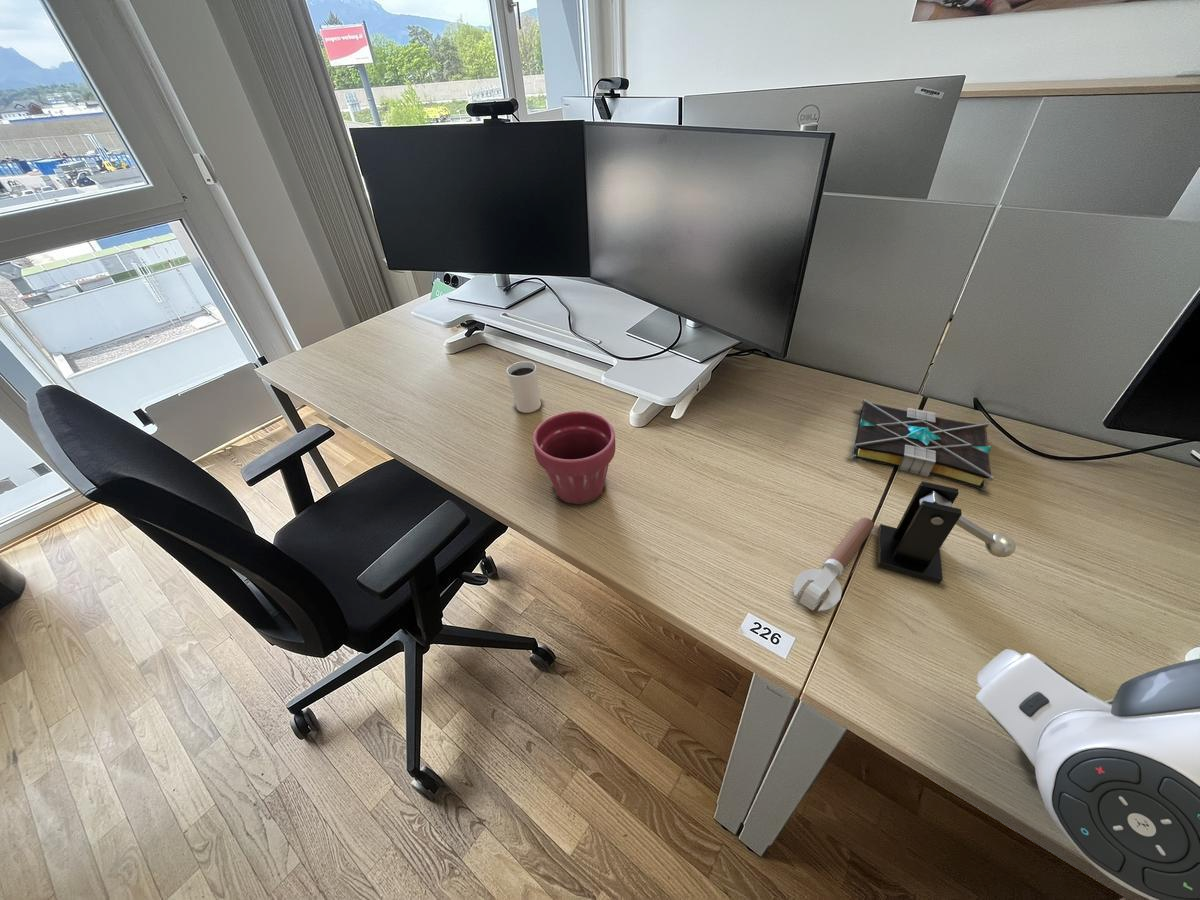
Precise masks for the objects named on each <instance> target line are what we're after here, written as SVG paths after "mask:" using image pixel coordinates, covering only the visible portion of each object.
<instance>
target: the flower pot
mask: <svg viewBox="0 0 1200 900" xmlns="http://www.w3.org/2000/svg"><path fill="white" fill-rule="evenodd" d="M532 443H533V451H534V456H535V460H536V462H537V464H538V465H539V466H540V467H541V468H542V469H544V470H545V472H546V474H547V476H548V478H549V480H550V482H551V484H552V486H553V488H554V490H555V492H556V494H557V496H558V497H559V498H560V499H561V500H562V501H563V502H566V503H569V504H573V505H583V504H587V503H590V502H592V501H594V500H596V499H597V498H599V496H600V495H601V494H602V492H603V491H604V487H605V483H606V479H607V475H608V474H607V473H608V469H609V466H610V465H609V464H610V463H611V462H612V460H613V458H614V456H615V454H616V434H615V429H614V427H613V425H612V424H611V423H610V421H609V420H607V419H606V418H605V417H603V416H601V415H600V414H597V413H594V412H590V411H583V410H572V411H565V412H561V413H557V414H554V415H552V416H549V417H548V418H547V419H545V420H543V421H542V422H541V423H540V424H539V425H538V426H537V427H536V429H535V430H534V432H533V436H532Z"/></svg>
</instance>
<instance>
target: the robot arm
mask: <svg viewBox="0 0 1200 900" xmlns="http://www.w3.org/2000/svg"><path fill="white" fill-rule="evenodd" d="M976 683H977V685H978V687H979V689H980V690H979V691H978V693H977V694H976V695H975V698H976V701H977V702H978V703H979V705H980V706H981V707H982V708H983V709H984V710H985V711H986V712H987V714H988V715H989V716H990V717H991V718H992V719H993V720H994V721H995V722H996V723H997V724H998V725H999V726H1000V727H1001V728H1002V730H1003V731H1005V733H1006V734H1007V735H1008V736H1009V737H1010V738H1011V739H1012V740H1013V742H1015V744H1017V745H1018V746H1019V748H1020V749H1021V750H1022V752H1023V753H1024V755H1025V756H1026V757H1027V759H1028V760H1029V761H1030V763H1031V765H1032V764H1033V766H1034V767H1035V770H1034V771H1035V779H1036V784H1037V787H1038V790H1039V793H1040V797H1041V799H1042V801H1043V805H1044V807H1045V808H1046V811H1047V813H1048V815H1049V817H1050V818H1051V820H1052V821H1053V823H1054V825H1055V826H1056V827H1057V829H1058V830H1059V832H1060V833H1061V834H1062V835H1063V837H1064V838H1065V840H1066V841H1068V842H1069V843H1070V845H1071V846H1072V847H1073V848H1074V849H1075V850H1076V852H1078V853H1079V854H1080V855H1081V856H1082V857H1083V858H1084V859H1085V860H1087V862H1089V864H1091V865H1092V867H1094V868H1096V869H1097V870H1098V871H1099V872H1101V873H1102V874H1103V875H1105V876H1106V878H1107V877H1108V878H1109V879H1110V880H1112V881H1114V882H1115V883H1117V884H1118V885H1120V886H1121V887H1123V888H1125V889H1127V890H1129V891H1130V892H1133V893H1135V894H1137V895H1139V896H1140V897H1143V898H1145V899H1148V900H1200V658H1194V659H1190V660H1185V661H1182V662H1181V661H1180V662H1178V663H1173V664H1170V665H1167V666H1163V667H1160V668H1157V669H1154V670H1151V671H1148V672H1145V673H1143V674H1140V675H1138V676H1135V677H1133V678H1130V679H1128V680H1127V681H1125V682H1122V683H1121V684H1120V686H1119V688H1118V690H1116V691H1117V692H1116V693H1115V695H1114V698H1113V699H1114V700H1113V703H1112V705H1111V704H1109V703H1107V702H1105V701H1106V700H1103V699H1102V698H1099V697H1097V696H1096V695H1093V694H1092V693H1089V691H1088V690H1087V689H1086V688H1084V687H1082V686H1080V685H1078V684H1077V683H1075V682H1074V681H1072V680H1071V679H1070V678H1068V677H1066V676H1065V675H1064V674H1062V673H1061V672H1059V671H1058V670H1057V669H1055V668H1054V667H1052V666H1051V665H1050V664H1049V663H1047V662H1045V661H1043V660H1042V659H1040V658H1039V657H1037V656H1036V655H1035V654H1032V653H1030V652H1026V653H1024V654H1022V653H1020V652H1017V651H1016V650H1014V649H1011V648H1005V649H1003V650H1002V651H1001V652H1000V653H998V654H997V655H996V656H995V657H993V658H992V659H991V660H990V661H989V662H988V663H987V664H985V666H983V667H982V668H981V669H980V670H979V671H978V672H977V675H976ZM1033 766H1032V767H1033Z"/></svg>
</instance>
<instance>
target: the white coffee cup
mask: <svg viewBox="0 0 1200 900" xmlns="http://www.w3.org/2000/svg"><path fill="white" fill-rule="evenodd" d="M506 375H507V379H508V381H509V384H510V390H511V393H512V396H513V400H514V403H515V407H516V409H517V411H518V412H521V413H523V414H524V413H525V414H528V413H533V412H536V411H537V410H539V409H540V408H541V406H542V403H541V402H542V401H541V396H540V388H539V379H538V371H537V365H536V364H535V363H534V362H532V361H524V360H523V361H518V362H514V363H512V364H511V365H509V366H508V367H507V368H506Z"/></svg>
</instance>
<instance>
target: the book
mask: <svg viewBox="0 0 1200 900" xmlns="http://www.w3.org/2000/svg"><path fill="white" fill-rule="evenodd" d="M861 404H862V406H861V408H858V411H857V413H858V414H859V418H858V425H857V430H856V435H855V436H856V437H855V442H854V448H853V452H852V456H851V460H863V461H868V462H873V463H879V464H883V465H887V466H892V467H896V468H897V470H898V471H901V472H902V471H903V472H905V473H911V474H915V475H918V476H922V477H927V478H928V477H929V475H932V476H935V477H940V478H944V479H947V480H950V481H955V482H957V483H961V484H964V485H968V486H972V487H975V488H977V489H979V490H980V491H982V492H983V491H985V490H986V488H987V486H985V479H987V480H988V481H990V482H991V481H992V480H993V479H994V478H995V476H993V475H992V470H991V462H990V455H989V454H990V450H991V445H989V444H988V431H987V428H988V427H989V425H990V423H988V422H984V423H973V422H965V421H960V420H955V419H948V418H943V417H938V416H936V412H932V411H928V410H927V411H926V410H922V409H916V408H913V407H912V408H911V407H908V408H906V410H905V409H901V408H900V409H899V408H894V407H890V406H885V405H881V404H878V403H877V404H876V403H872V402H870V401H869V400H867V399H865V398H863V399H862V401H861Z"/></svg>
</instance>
